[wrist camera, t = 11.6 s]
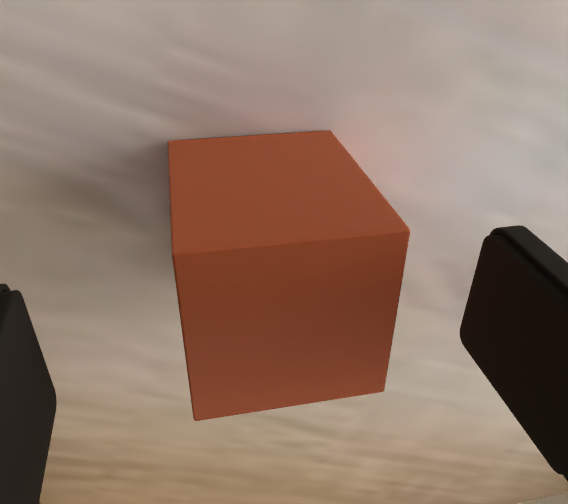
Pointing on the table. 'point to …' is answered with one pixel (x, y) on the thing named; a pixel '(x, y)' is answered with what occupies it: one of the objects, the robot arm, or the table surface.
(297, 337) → the block
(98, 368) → the table surface
